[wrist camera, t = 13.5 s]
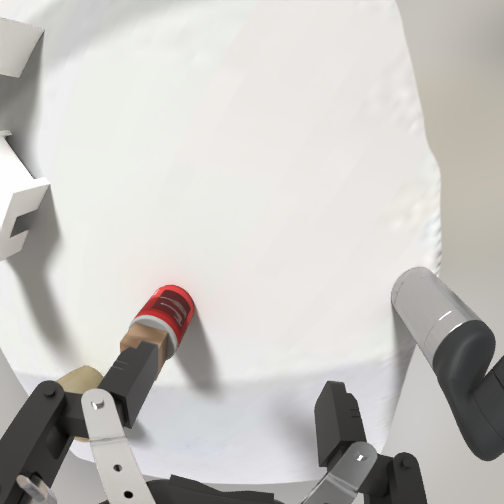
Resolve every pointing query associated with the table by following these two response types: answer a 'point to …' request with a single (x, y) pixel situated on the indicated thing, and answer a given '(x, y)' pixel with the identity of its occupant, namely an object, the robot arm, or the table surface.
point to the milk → (16, 45)
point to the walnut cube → (147, 334)
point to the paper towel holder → (15, 196)
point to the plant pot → (81, 384)
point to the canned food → (168, 314)
